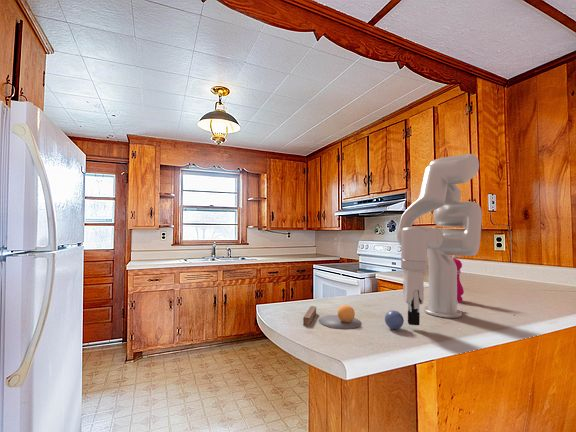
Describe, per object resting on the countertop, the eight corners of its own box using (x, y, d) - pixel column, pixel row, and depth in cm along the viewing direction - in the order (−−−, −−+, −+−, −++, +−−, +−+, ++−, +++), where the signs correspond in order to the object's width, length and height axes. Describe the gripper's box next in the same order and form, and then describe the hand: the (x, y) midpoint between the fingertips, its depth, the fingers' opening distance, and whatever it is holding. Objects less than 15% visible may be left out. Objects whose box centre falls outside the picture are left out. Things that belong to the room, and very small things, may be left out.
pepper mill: (466, 303, 127) (466, 256, 128) (448, 302, 129) (448, 255, 130) (460, 299, 135) (460, 254, 135) (442, 298, 136) (442, 254, 137)
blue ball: (394, 305, 96) (390, 319, 98) (383, 309, 93) (379, 323, 95) (409, 315, 92) (404, 330, 94) (397, 319, 89) (393, 335, 91)
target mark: (336, 313, 109) (336, 312, 109) (369, 323, 99) (369, 322, 99) (309, 320, 100) (309, 319, 100) (342, 332, 89) (342, 331, 89)
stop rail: (316, 313, 108) (316, 306, 108) (309, 325, 95) (309, 317, 95) (310, 312, 109) (310, 306, 109) (303, 325, 95) (303, 317, 95)
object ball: (346, 302, 103) (351, 317, 102) (332, 308, 101) (338, 324, 100) (354, 302, 98) (360, 319, 97) (339, 309, 96) (346, 326, 95)
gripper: (398, 262, 102) (398, 316, 102) (404, 268, 88) (404, 331, 87) (422, 263, 101) (421, 318, 100) (432, 269, 86) (431, 333, 86)
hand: (413, 324), depth 94 cm, fingers closed
